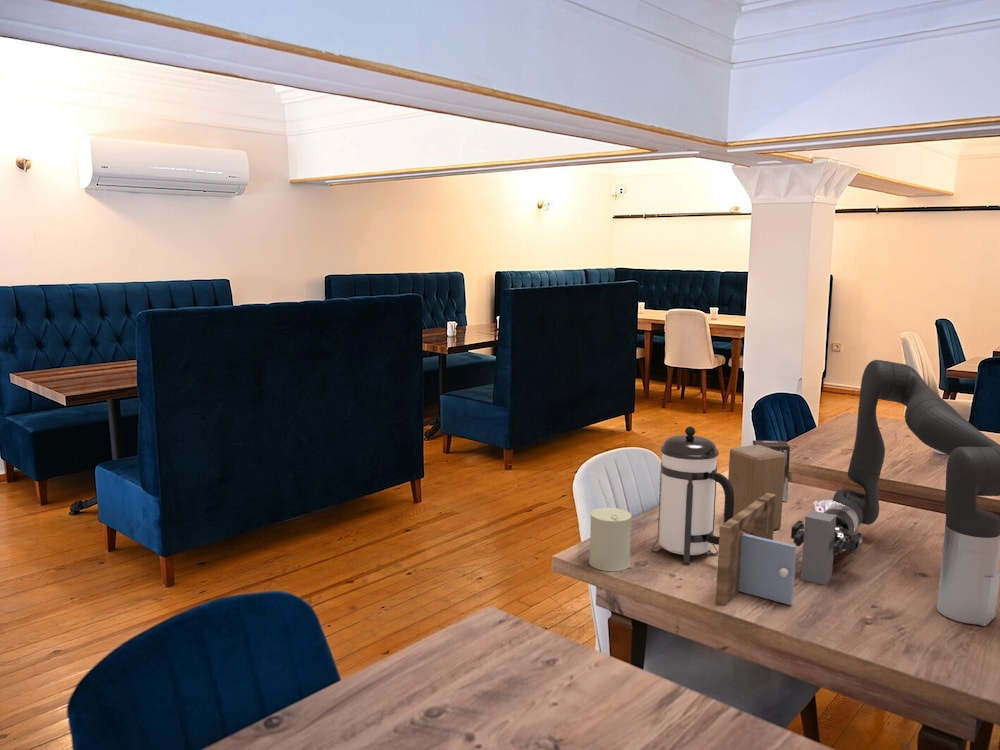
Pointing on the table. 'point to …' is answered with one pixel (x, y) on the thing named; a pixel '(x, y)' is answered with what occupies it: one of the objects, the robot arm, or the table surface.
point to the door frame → (732, 541)
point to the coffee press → (690, 495)
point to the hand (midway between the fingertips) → (815, 545)
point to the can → (610, 539)
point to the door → (767, 568)
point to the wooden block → (756, 478)
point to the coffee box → (785, 448)
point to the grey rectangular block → (818, 547)
